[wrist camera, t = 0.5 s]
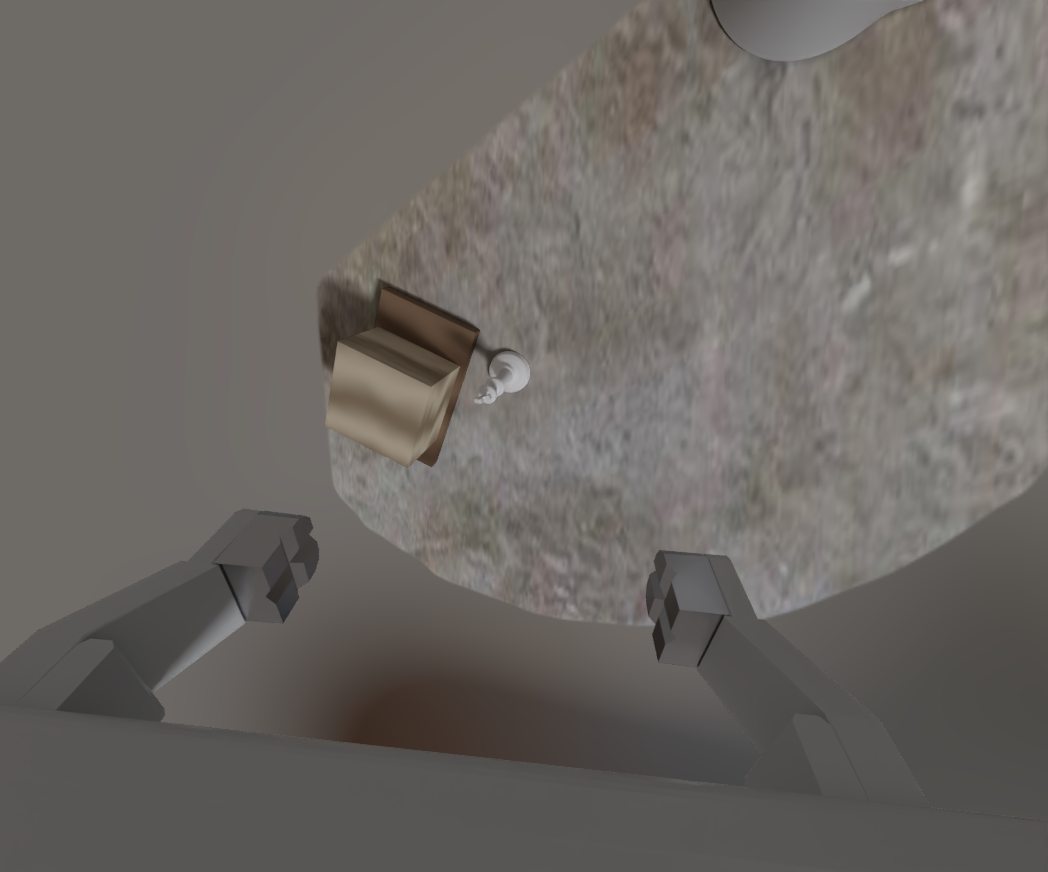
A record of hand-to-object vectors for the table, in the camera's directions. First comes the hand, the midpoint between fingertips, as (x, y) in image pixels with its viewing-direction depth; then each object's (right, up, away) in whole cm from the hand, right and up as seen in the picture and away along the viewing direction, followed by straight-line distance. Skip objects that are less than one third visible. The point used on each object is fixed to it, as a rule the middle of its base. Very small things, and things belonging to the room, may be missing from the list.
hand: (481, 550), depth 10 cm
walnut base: (-13, +10, +44) cm, 47 cm away
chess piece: (-1, +10, +40) cm, 42 cm away
